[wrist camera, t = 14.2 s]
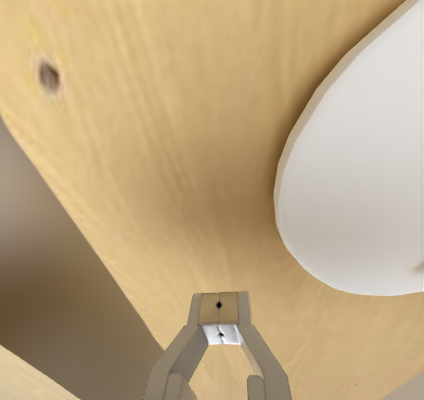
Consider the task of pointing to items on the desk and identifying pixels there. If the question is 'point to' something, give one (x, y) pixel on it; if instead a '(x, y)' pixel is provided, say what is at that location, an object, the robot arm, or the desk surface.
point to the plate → (361, 166)
